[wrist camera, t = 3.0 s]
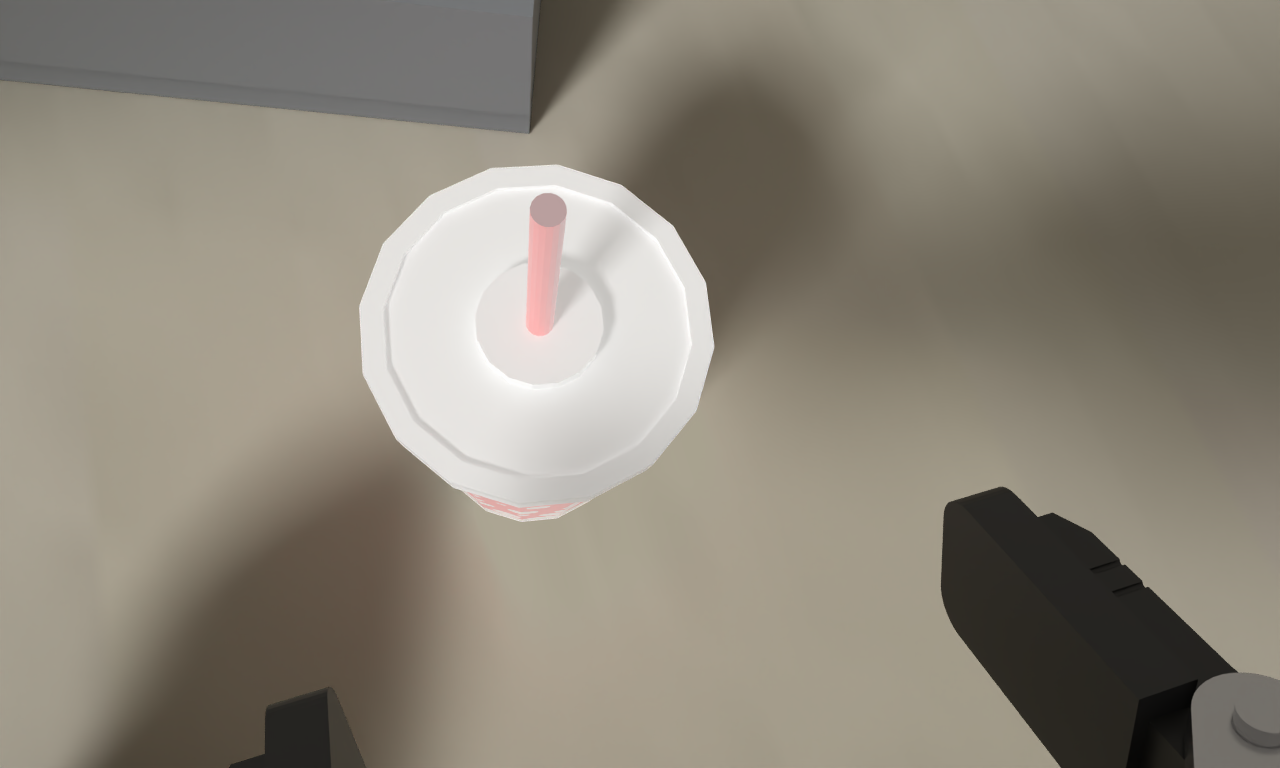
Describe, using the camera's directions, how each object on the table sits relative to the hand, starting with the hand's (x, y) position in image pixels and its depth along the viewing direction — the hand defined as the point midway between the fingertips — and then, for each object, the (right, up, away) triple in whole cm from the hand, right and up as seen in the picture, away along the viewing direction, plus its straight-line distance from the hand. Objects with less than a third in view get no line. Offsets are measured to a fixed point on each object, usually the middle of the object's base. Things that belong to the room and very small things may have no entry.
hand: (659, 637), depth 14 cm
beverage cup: (-3, +2, +14) cm, 14 cm away
